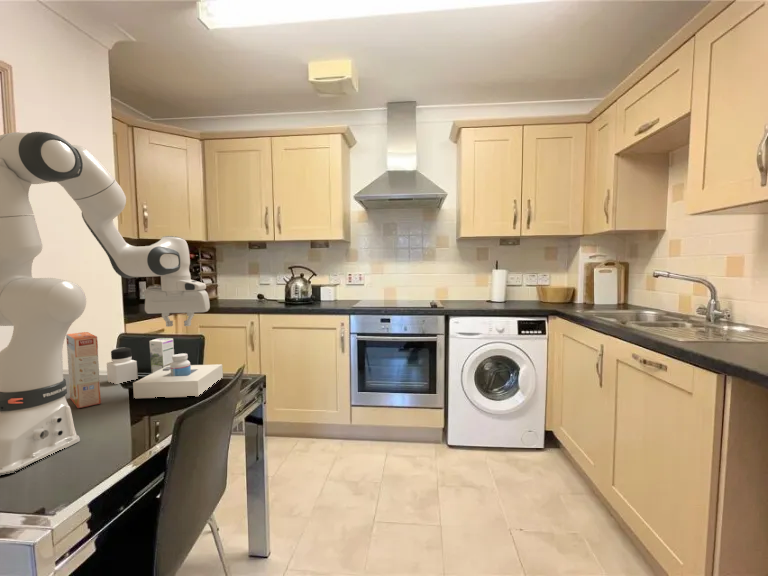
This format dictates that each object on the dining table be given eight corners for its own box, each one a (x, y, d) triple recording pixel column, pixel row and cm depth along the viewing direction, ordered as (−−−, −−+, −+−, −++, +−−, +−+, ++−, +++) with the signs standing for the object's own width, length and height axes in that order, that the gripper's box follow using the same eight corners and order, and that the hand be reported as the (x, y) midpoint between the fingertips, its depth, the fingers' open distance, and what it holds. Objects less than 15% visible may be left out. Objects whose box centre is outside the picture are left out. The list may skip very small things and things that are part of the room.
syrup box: (176, 375, 144) (174, 337, 143) (163, 380, 138) (161, 340, 137) (163, 374, 145) (161, 337, 144) (150, 379, 139) (148, 340, 139)
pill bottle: (195, 384, 132) (193, 352, 131) (184, 390, 126) (182, 357, 125) (179, 384, 132) (177, 352, 132) (167, 390, 126) (165, 357, 126)
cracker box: (102, 403, 115) (98, 335, 113) (77, 409, 110) (72, 338, 109) (93, 393, 124) (88, 330, 123) (69, 398, 120) (64, 333, 119)
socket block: (198, 396, 120) (197, 378, 119) (133, 398, 119) (132, 381, 118) (222, 377, 140) (222, 362, 139) (167, 379, 139) (166, 364, 138)
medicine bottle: (138, 379, 139) (136, 347, 139) (116, 385, 133) (114, 351, 133) (129, 376, 143) (127, 345, 142) (107, 382, 137) (105, 349, 136)
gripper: (139, 286, 124) (141, 328, 124) (202, 285, 124) (204, 326, 125) (150, 285, 130) (152, 325, 131) (210, 284, 131) (212, 323, 131)
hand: (178, 326), depth 128 cm, fingers open, 5 cm apart
